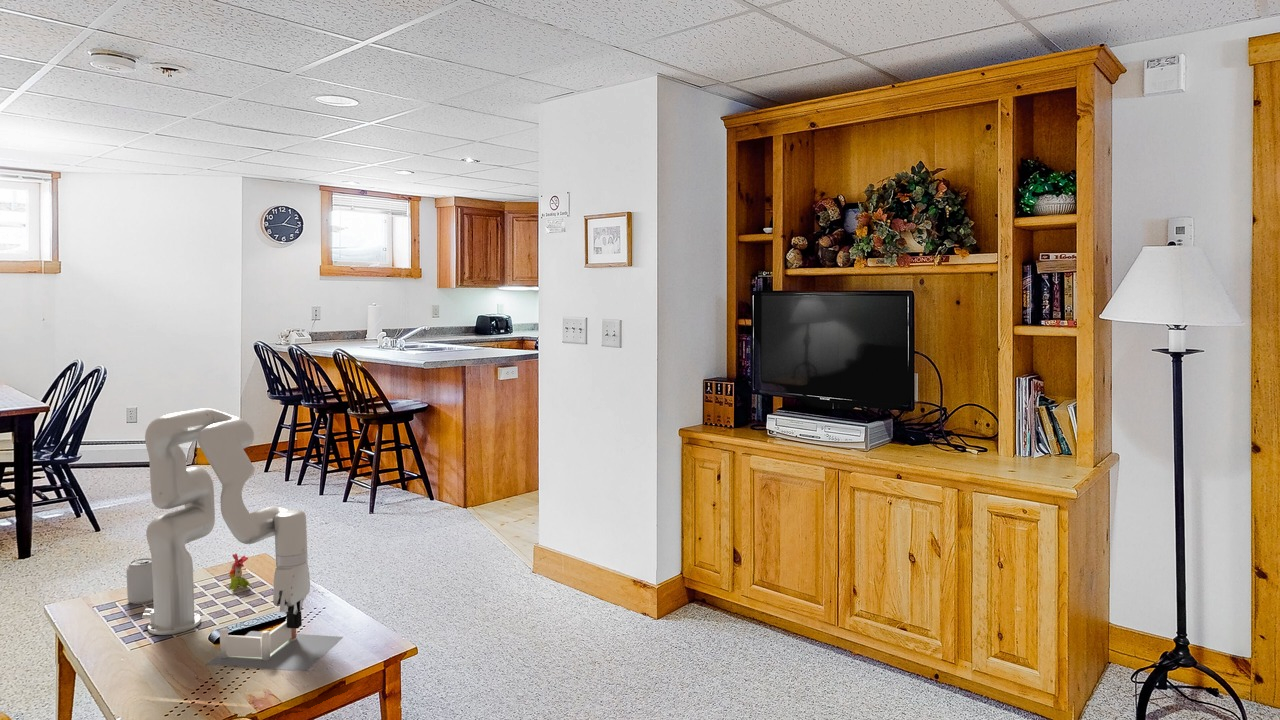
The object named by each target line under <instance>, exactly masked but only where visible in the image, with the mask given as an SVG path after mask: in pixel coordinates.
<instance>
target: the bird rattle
mask: <svg viewBox="0 0 1280 720" xmlns="http://www.w3.org/2000/svg"><path fill="white" fill-rule="evenodd" d="M231 556H232V558H233V559H234V562H233V563H232V565H231V567H230V568H231V569H230V571H229V578H230V584H229V587H228V589H230V590H233V592H235V591H236V590H237V588H238V587H242V588H248V587H251V586H252V585H251V583H250V582H249V580H248V579H246V578H245V577H242V575H243V571H242V569H243V567H245V566H244V563H245V562H246V561H247V560H248V559H249V557H247V556H246V555H242V556H241V557H240V558H239V556H238V553H235V554H234V553H233V554H232V555H231Z"/></svg>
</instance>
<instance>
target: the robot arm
mask: <svg viewBox="0 0 1280 720" xmlns="http://www.w3.org/2000/svg"><path fill="white" fill-rule="evenodd" d="M144 434H145V435H144V442H145V446H146V450H147V451H146V452H147V455H148V460H149V479H150V480H149V481H150V495H151V501H152V503H153V505H154V507H155V508H157V509H161V510H170V509H174V508H177V507H181V506H184V507H183V508H180V509H177V510H174V511H173V510H172V511H170V512H166V513H164V514H161V515H159V516H156V518H153V520H151V522H150V523H149V524H148V525H147V528H146V529H145V530H146V533H145V534H146V535H145V536H146V540H147V544H148V548H149V551H150V558H151V559H152V576H153V600H152V601H153V607H152V608H151V607H146V608H145V609H144V611H143V613H142V614H141V618H142V619H147V620H148V619H149V621H150V622H149V623H148V624H147V631H148V633H150V634H152V635H157V636H167V635H175V634H180V633H184V632H187V631H190V630H192V629H194V628H196V627H197V626H198V625H200V623H201V622H202V616H201V615H200V614H199V613H196V612H195V593H194V592H195V591H194V590H195V589H194V567H193V566H194V564H193V559H192V555H191V554H190V552H189V551H188V550H187V547H186V545H187V544H189V543H191V542H194V541H197V540H199V539H202V538H204V537H206V536H208V535H209V534H210V533H211V532H212V531H213V529H214V526H215V523H216V511H215V491H214V490H215V489H214V483H213V479H212V476H211V475H210V473H209V472H208V471H207V470H206V469H204V468H202V467H199V466H193V467H188V468H187V458H186V454H185V452H184V450H183V448H182V447H181V446H180V445H182V444H187V443H193V442H197V443H198V446H199V448H200V449H201V451H202V453H203V454H204V457H205V458H206V460H207V462H208V464H209V465H210V466H211V468H212V470H213V471H214V473H215V475H216V477H217V478H218V480H219V482H220V483H221V487H222V488H221V493H220V512H221V515H222V518H223V522H225V524H226V526H227V528H228V530H230V533H231V535H233V537H234V538H235V539H236V540H237V541H238V542H240V543H242V544H244V545H252V544H253V545H254V544H255V543H258V542H261V541H263V540H265V539H268V538H271V537H274V548H275V549H274V550H275V551H274V552H275V567H276V568H275V569H274V575H273V587H272V588H273V590H272V591H273V592H272V593H273V596H272V597H273V601H272V602H273V606H277V607H278V606H279V613H285V615H286V621H287V628H296V629H299V628H300V627H302V626H303V624H302V623H303V621H302V610H303V603H304V600H305V599H306V598H307V596H308V595H309V593H310V590H311V580H310V579H311V578H310V570H309V564H308V563H309V561H308V558H309V557H308V535H307V534H308V532H307V516H306V513H305V512H304V511H303V510H302V509H301V510H300V509H287V508H284V507H282V506H280V505H279V506H278V505H277V506H276V505H271V506H267V507H264V508H262V509H258V510H255V511H253V512H249V510H248V509H247V506H246V505H245V503H244V501H243V495H242V494H243V488H244V485H245V484H246V482H247V481H248V480H249V479H251V478H252V476H253V475H254V473H255V472H256V469H255V466H254V464H253V463H252V462H251V460H250V458H249V456H248V455H247V453H246V451H245V450H244V449H246V448H248V447H250V446H252V444H253V443H254V439H255V433H254V429H253V428H252V426H251V425H250V424H249V423H248V421H246V420H245V419H243V418H241V417H239V416H235V415H232V414H229V413H227V412H223V411H220V410H218V409H215V408H212V407H211V408H210V407H205V408H203V407H202V408H196V409H190V410H185V411H184V410H183V411H177V412H172V413H167V414H165V415H161V416H159V417H156V418H155V419H153V420H152V421H151V422H150V423H149V424H148V426H147V427H146V429H145V433H144Z"/></svg>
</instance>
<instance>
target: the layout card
mask: <svg viewBox="0 0 1280 720" xmlns="http://www.w3.org/2000/svg"><path fill="white" fill-rule="evenodd" d="M262 632H263V631H257V630H250V631H248V632H247V633H246V634H245V635H244V636H253V637H262ZM343 638H344V636H338V635H337V636H335V635H321V634H319V635H318V634H317V635H315V634H304V633H296V638H295V639H289V640H288V641H287V642H285V643H284V644H283V645H281V646H280V647H279V648H277V649H276V650H275V651H273V652H272V653H270V660H267V661H263V660H262V657H261V658H257V657H242V656H228V657H226V658H221V654H220V653H219V654H217V656H215V657H214V658H212V659H211V660H210V661H208V662H207V663H206V664H205V665H208V666H210V665H211V666H220V667H236V668H250V669H251V668H252V669H253V668H254V669H266V670H282V671H293V672H294V671H295V672H296V671H297V672H307V671H309V670H310V669H311V668H312V667H313V666H314V665H315V664H316V663H318V662H319V660H321V659H322V658H323V657H324V656H325V655H326V654H327V653H328V652H329V651H330V650H331V649H332V648H333V647H335V645H336V644H338V642H340V641H341V639H343Z"/></svg>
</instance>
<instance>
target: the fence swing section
mask: <svg viewBox="0 0 1280 720" xmlns="http://www.w3.org/2000/svg"><path fill="white" fill-rule="evenodd" d="M296 634H297V628H287V620H285V621H283V622H282V623H281V624H279V625H278V626H276V627H275V628H274V629H273V630H271V631H270V653H272V652H273V651H275V650H276V649H277V648H279V647H280V646H281V645H283V644H284V643H285V642H287V641H288V640H289V639H295V638H296Z"/></svg>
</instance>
